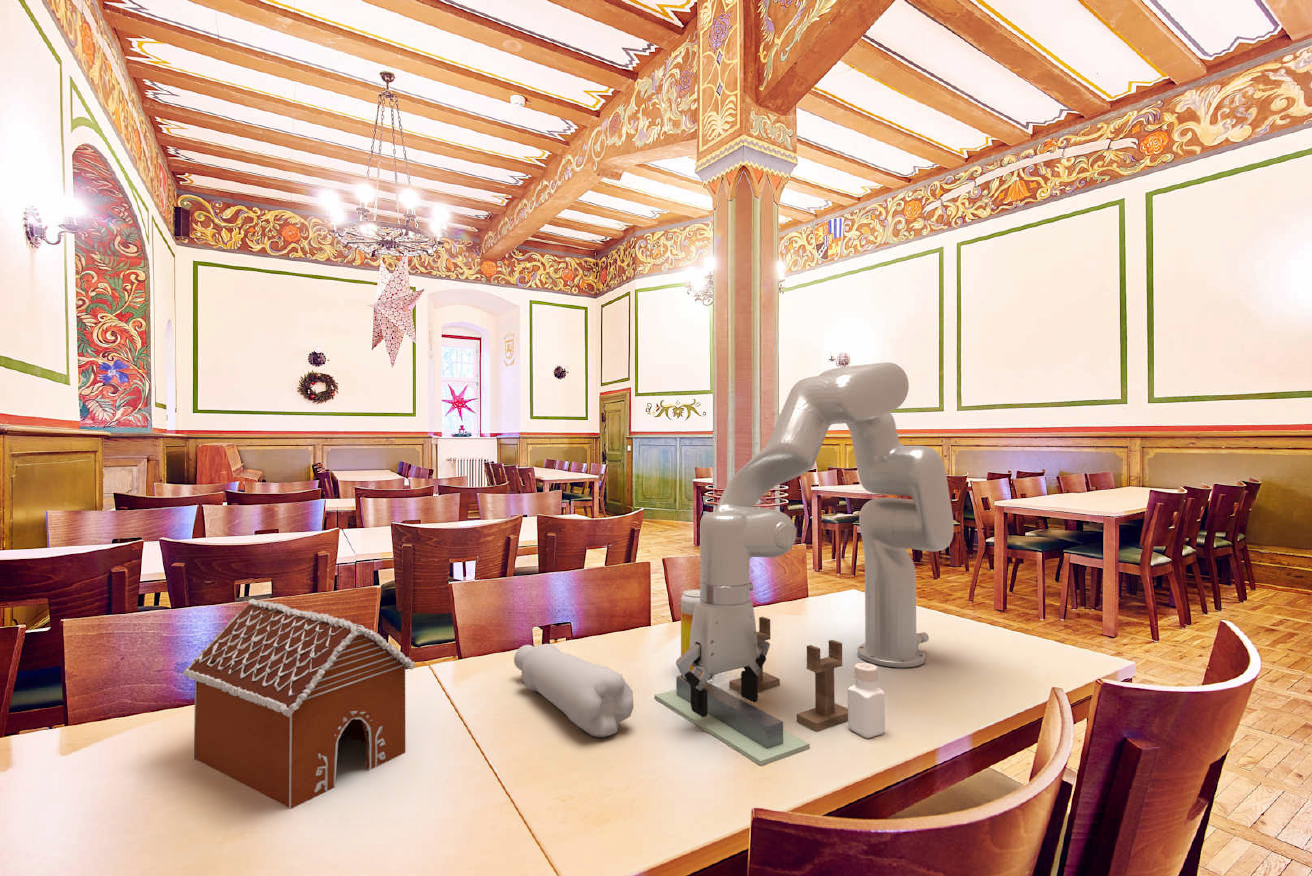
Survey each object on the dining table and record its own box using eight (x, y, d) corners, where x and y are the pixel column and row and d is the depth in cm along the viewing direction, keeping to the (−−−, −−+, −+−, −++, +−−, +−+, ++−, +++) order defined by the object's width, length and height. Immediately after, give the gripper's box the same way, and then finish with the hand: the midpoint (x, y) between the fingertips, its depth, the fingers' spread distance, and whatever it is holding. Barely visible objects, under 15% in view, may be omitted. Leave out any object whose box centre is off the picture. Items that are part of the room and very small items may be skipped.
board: (698, 687, 108) (698, 684, 108) (809, 748, 86) (809, 743, 86) (654, 698, 103) (654, 694, 103) (760, 765, 81) (760, 761, 81)
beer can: (712, 682, 110) (711, 597, 110) (678, 679, 111) (678, 595, 112) (715, 670, 116) (715, 589, 116) (683, 668, 117) (683, 588, 118)
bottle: (649, 706, 92) (557, 657, 116) (619, 661, 89) (531, 621, 114) (605, 755, 87) (519, 694, 112) (573, 709, 85) (492, 657, 109)
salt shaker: (866, 740, 88) (866, 673, 88) (846, 729, 91) (845, 664, 92) (886, 734, 90) (886, 668, 90) (865, 723, 93) (865, 660, 94)
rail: (676, 695, 103) (676, 676, 103) (691, 691, 104) (691, 673, 104) (767, 749, 84) (767, 726, 84) (783, 743, 86) (783, 721, 86)
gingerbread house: (284, 820, 69) (286, 640, 70) (174, 761, 82) (177, 610, 83) (421, 750, 85) (422, 604, 85) (312, 711, 98) (313, 584, 99)
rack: (764, 678, 112) (763, 614, 112) (853, 719, 95) (852, 643, 95) (729, 687, 107) (729, 621, 108) (816, 731, 91) (815, 652, 91)
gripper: (751, 582, 102) (751, 687, 102) (663, 595, 93) (663, 710, 93) (783, 591, 96) (784, 702, 96) (693, 606, 87) (693, 729, 86)
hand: (725, 706), depth 94 cm, fingers open, 9 cm apart
